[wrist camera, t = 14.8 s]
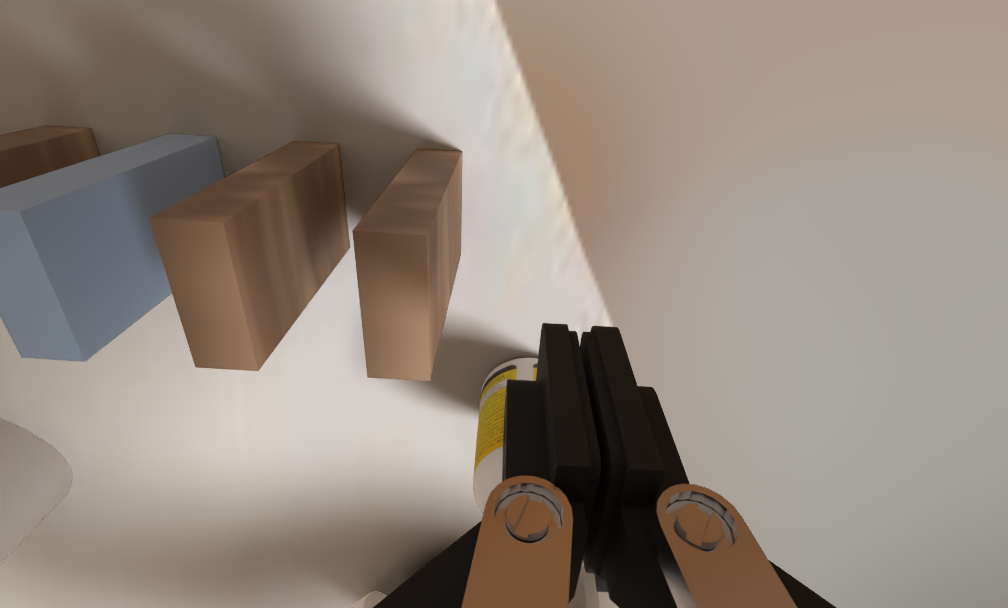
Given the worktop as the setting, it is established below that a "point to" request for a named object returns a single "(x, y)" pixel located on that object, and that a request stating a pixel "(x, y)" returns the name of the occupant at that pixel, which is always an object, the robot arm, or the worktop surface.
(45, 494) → the lumpy-topped squat cylinder
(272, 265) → the domino
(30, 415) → the worktop surface
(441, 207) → the domino
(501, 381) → the supplement bottle
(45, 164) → the domino
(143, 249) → the blue domino
